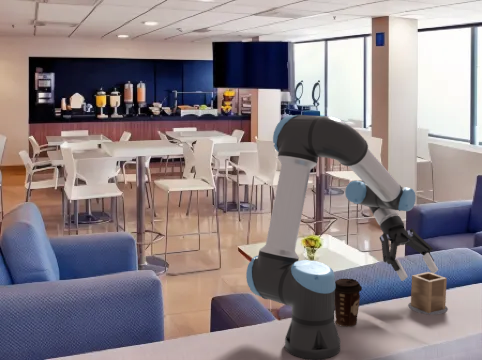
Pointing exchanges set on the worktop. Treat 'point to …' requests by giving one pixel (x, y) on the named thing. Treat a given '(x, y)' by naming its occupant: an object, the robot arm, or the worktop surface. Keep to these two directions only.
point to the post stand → (426, 312)
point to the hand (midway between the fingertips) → (420, 275)
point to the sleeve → (428, 292)
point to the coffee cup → (347, 301)
